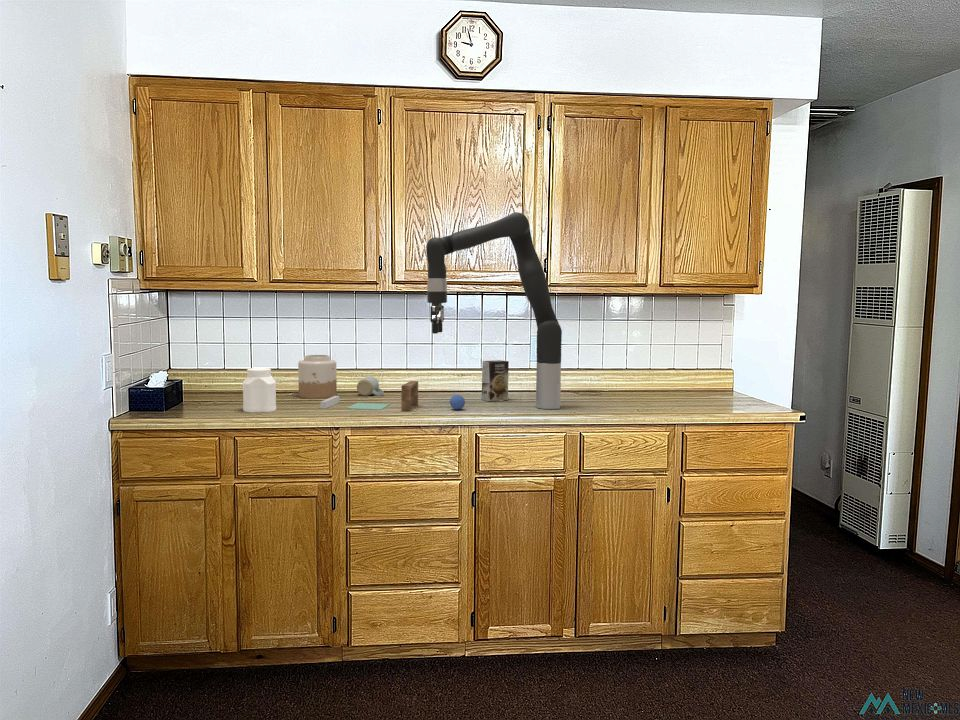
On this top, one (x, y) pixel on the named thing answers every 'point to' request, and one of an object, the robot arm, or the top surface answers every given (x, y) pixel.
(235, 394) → the top surface
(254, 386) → the jar
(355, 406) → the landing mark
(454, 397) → the ball
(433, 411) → the top surface
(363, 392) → the ceramic mug
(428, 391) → the top surface
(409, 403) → the bridge
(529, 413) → the top surface
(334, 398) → the wall
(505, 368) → the coffee box
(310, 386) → the vase
